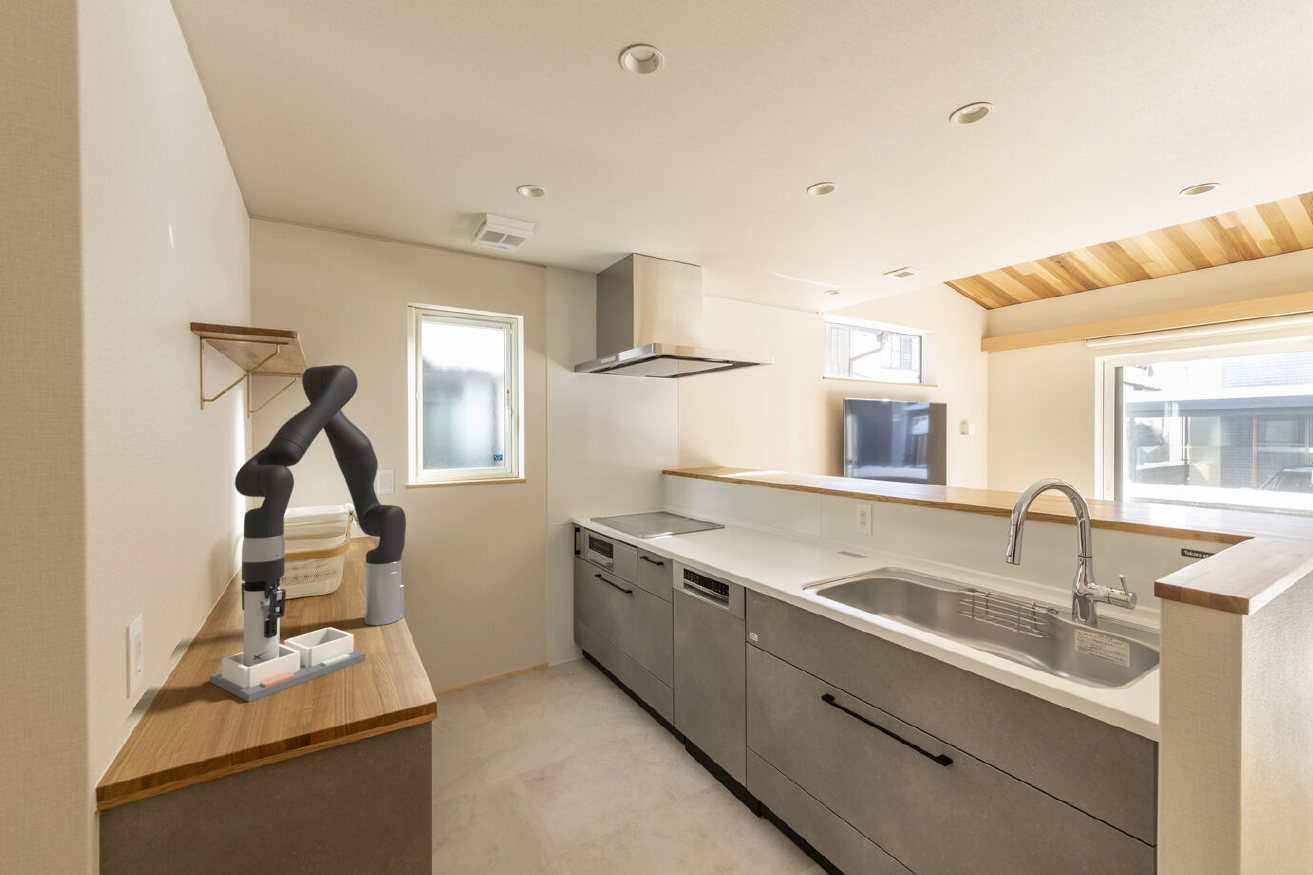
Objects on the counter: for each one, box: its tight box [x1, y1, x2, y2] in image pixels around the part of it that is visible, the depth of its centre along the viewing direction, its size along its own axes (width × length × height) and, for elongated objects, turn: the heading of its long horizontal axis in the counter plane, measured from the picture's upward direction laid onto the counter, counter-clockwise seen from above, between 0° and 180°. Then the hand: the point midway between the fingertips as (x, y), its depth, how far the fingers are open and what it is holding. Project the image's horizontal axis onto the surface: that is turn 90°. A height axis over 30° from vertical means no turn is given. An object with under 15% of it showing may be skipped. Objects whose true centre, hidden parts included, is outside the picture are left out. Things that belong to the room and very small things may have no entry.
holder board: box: [209, 626, 366, 703], centre depth 122 cm, size 24×17×6 cm
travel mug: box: [243, 578, 281, 667], centre depth 116 cm, size 6×7×20 cm
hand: (262, 633), depth 117 cm, fingers closed on travel mug, 6 cm apart
